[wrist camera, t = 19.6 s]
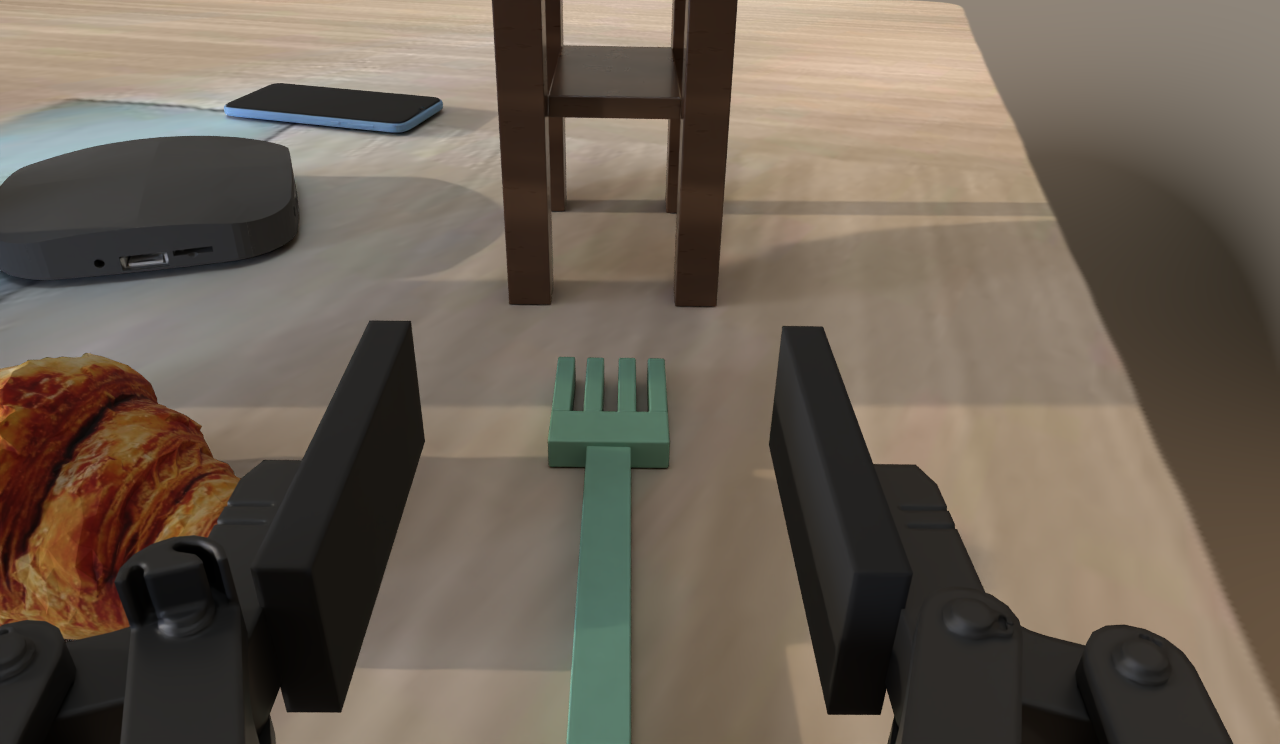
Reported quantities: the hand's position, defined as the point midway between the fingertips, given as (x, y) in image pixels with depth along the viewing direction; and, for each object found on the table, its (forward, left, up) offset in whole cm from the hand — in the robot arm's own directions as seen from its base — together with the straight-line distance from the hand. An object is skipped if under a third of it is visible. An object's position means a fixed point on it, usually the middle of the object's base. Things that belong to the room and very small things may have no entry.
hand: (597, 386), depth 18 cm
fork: (-6, +5, -11) cm, 14 cm away
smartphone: (-57, +20, -12) cm, 61 cm away
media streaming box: (-43, +3, -12) cm, 45 cm away
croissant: (-18, -9, -12) cm, 23 cm away
